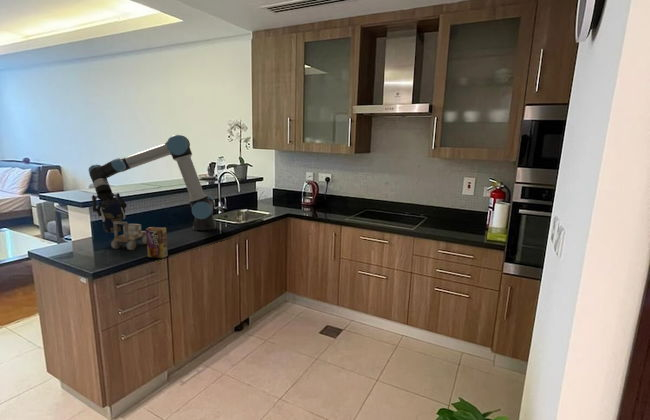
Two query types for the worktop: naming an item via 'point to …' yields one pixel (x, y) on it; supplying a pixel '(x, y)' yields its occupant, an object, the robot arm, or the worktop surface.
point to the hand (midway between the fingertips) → (114, 219)
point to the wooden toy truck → (128, 235)
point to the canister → (112, 216)
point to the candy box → (156, 242)
